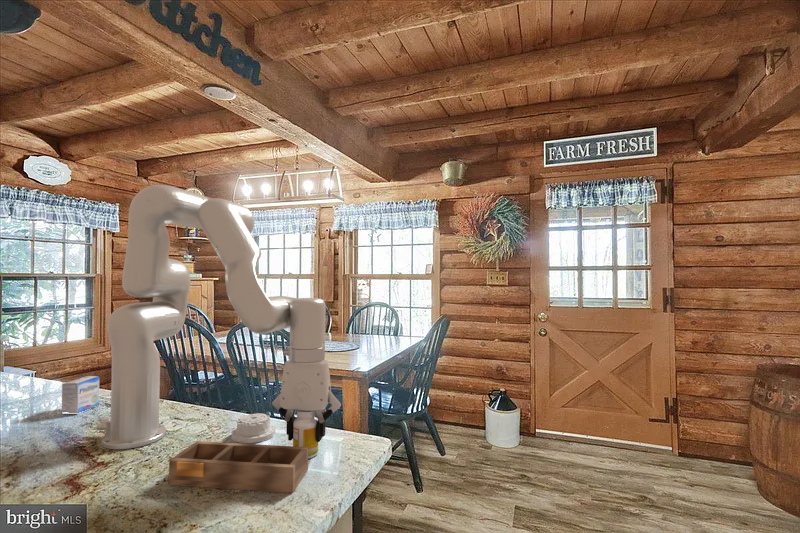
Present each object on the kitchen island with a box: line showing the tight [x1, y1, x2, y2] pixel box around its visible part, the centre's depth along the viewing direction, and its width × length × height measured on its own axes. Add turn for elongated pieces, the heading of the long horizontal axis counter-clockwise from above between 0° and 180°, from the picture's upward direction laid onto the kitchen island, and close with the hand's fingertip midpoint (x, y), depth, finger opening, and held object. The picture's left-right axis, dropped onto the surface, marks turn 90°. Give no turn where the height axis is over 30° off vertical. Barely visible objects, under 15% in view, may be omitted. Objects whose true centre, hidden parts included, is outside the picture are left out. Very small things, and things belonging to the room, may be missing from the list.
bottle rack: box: [168, 440, 309, 494], centre depth 77 cm, size 24×9×4 cm, turn 85°
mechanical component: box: [230, 412, 276, 444], centre depth 97 cm, size 10×4×10 cm
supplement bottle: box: [292, 410, 319, 459], centre depth 88 cm, size 5×5×10 cm
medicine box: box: [61, 375, 100, 413], centre depth 113 cm, size 8×4×9 cm, turn 179°
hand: (305, 437), depth 88 cm, fingers closed on supplement bottle, 5 cm apart
